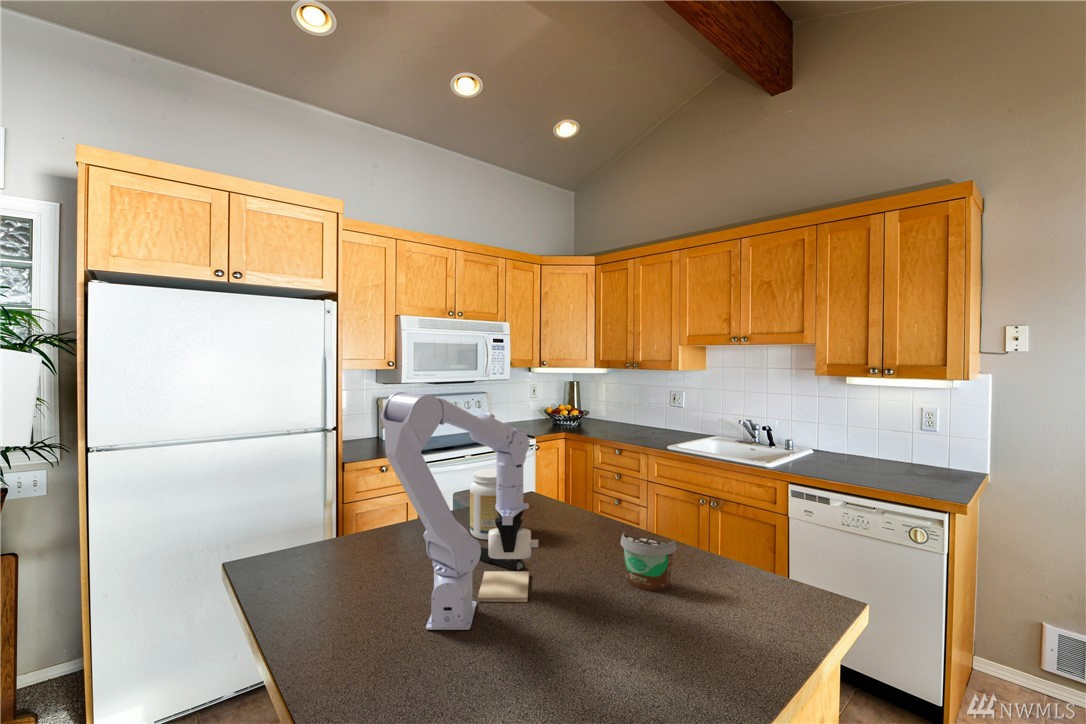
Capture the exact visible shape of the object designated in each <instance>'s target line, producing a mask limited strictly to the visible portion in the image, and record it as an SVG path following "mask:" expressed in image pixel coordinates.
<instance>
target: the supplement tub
mask: <svg viewBox="0 0 1086 724" xmlns="http://www.w3.org/2000/svg"><path fill="white" fill-rule="evenodd" d="M472 480H473V482H472V483H471V484H470V488H469V530H470V534H471V535H472V536H473V538H474V537H475V539H476V538H477V539H480V540H483V541H484V540H485V541H486V540H487V541H488V538H489V530H491V529H496V528H497V526H496V524H495V518H500V517H499V515H498V511H497V510H496V508H495V505H496V484H497V468H484V469H478V470H476V471H474V472H473V476H472Z"/></svg>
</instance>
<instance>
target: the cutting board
mask: <svg viewBox="0 0 1086 724" xmlns="http://www.w3.org/2000/svg"><path fill="white" fill-rule="evenodd" d="M529 577H530V571H525V570H524V571H523V570H522V571H512V570H511V571H509V570H508V571H504V570H503V571H499V570H498V571H493V570H491V571H487V570H485V571H484V572H483V576H482V580H481V584H480V587H479V590H478V595H477V603H481V602H483V603H486V602H488V603H489V602H490V603H491V602H492V603H497V602H498V603H499V602H502V603H505V602H506V603H515V602H516V603H527V602H528V597H529V583H530V578H529Z"/></svg>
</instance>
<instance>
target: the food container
mask: <svg viewBox="0 0 1086 724" xmlns="http://www.w3.org/2000/svg"><path fill="white" fill-rule="evenodd" d="M625 534H626V533H625V531H622V535H621V538H620V546H621V547H622V548H623V551H624V552H623V553H624V554H623V555H624V564H625V574H626V582H627V583H628V584H629V585H630V586H632V587H633V588H635V589H637V588H638V590H639V591H641V590H642V591H645V592H646V591H647V592H659V591H663V590H665V589H667V588H669V587H670V583H671V574H672V566H673V558H674V553H675V552H676V551H678V549H677V544H676V542H675V540H674V539H673V540H672V541H670V542H665V541H664V542H663V541H660V540H656V539H654V538H650V537H639V536H638V537H636V536H631V535H630V536H629V535H625Z"/></svg>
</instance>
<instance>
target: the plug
mask: <svg viewBox="0 0 1086 724" xmlns="http://www.w3.org/2000/svg"><path fill="white" fill-rule="evenodd" d="M487 541H488V545H487V546H488V548H487V549H488V556H489V557H490V558H493V559H522V560H524V559H528V558H530V557H531V556H532V555H531V554H532V550H531V549H532V548H539V539H532V531H531V530H530V529H528V528H521V527H520V528H519V530H518V533H517V538H516V545H515V549H514V552H504V551H503V547H502V541H501V536H500V533H499V530H498V528H496V529H491V530H489V538H488V540H487Z"/></svg>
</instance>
